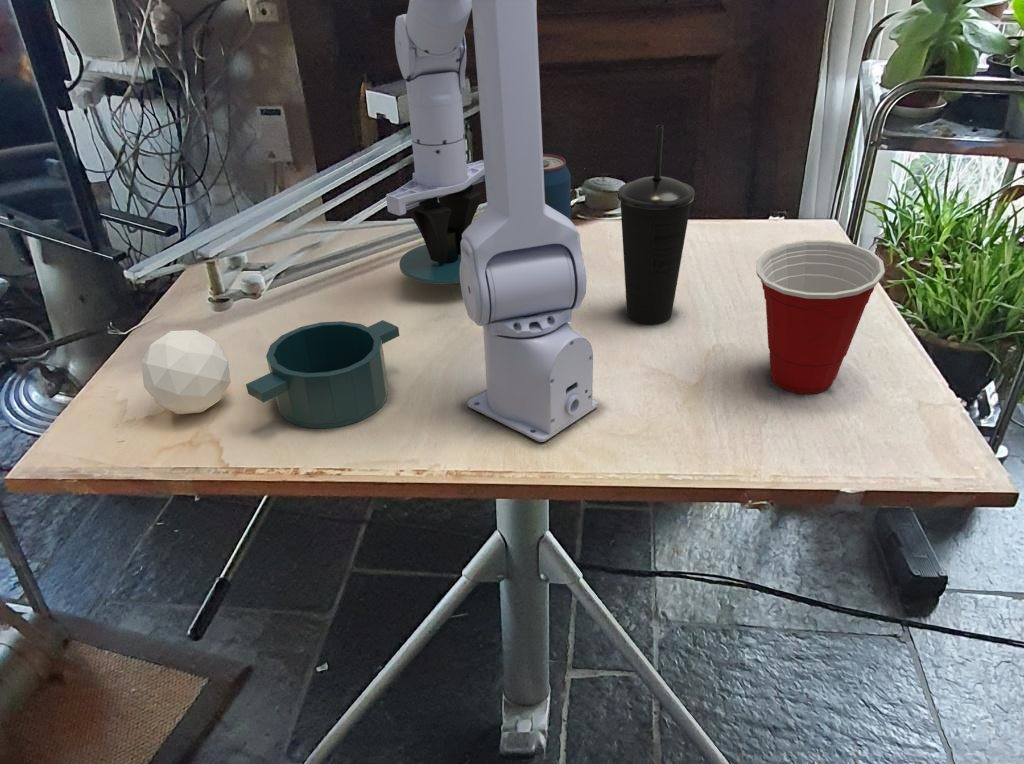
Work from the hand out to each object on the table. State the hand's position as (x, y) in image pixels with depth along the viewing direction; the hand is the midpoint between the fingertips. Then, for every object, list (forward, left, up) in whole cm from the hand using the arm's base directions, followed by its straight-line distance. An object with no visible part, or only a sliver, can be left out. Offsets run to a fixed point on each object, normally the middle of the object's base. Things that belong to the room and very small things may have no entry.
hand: (448, 256), depth 104 cm
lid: (0, 0, -1) cm, 1 cm away
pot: (-10, +25, -3) cm, 27 cm away
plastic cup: (-42, -6, -3) cm, 42 cm away
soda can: (-4, -12, -3) cm, 13 cm away
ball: (-1, +34, -3) cm, 35 cm away
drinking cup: (-23, -8, -3) cm, 25 cm away
